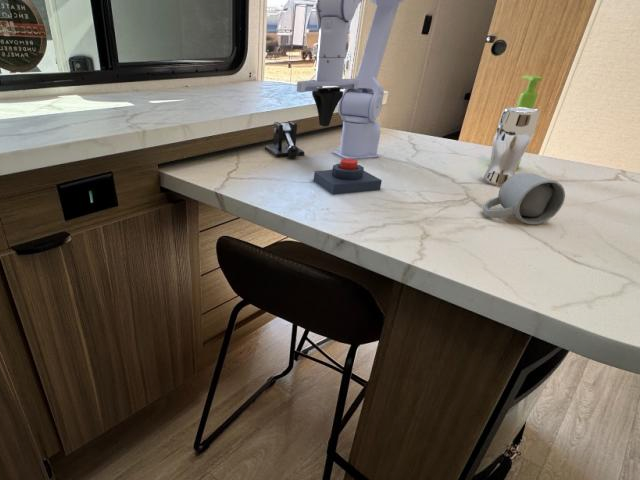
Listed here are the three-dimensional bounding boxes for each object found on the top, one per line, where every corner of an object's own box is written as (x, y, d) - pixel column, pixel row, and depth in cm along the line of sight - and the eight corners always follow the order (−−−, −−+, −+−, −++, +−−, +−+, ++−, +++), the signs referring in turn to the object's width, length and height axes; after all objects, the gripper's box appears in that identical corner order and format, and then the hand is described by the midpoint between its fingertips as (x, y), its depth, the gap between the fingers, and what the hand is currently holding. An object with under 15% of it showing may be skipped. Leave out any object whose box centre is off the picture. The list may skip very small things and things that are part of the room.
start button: (351, 166, 91) (352, 157, 90) (359, 170, 88) (360, 162, 87) (336, 167, 90) (337, 159, 89) (344, 171, 87) (345, 163, 86)
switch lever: (298, 159, 110) (301, 151, 107) (288, 160, 109) (290, 151, 107) (287, 130, 115) (290, 121, 112) (277, 131, 114) (279, 122, 111)
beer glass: (521, 186, 90) (549, 112, 82) (489, 186, 90) (513, 112, 82) (505, 177, 96) (529, 106, 88) (474, 177, 96) (496, 106, 88)
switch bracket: (304, 156, 112) (306, 125, 108) (276, 158, 111) (277, 127, 106) (290, 147, 120) (292, 119, 116) (264, 149, 119) (265, 120, 114)
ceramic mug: (527, 207, 79) (543, 167, 75) (555, 224, 72) (574, 181, 68) (472, 209, 79) (484, 168, 75) (494, 225, 72) (509, 182, 68)
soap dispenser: (509, 163, 106) (540, 74, 95) (521, 170, 100) (556, 77, 89) (485, 162, 107) (513, 74, 96) (496, 170, 101) (527, 77, 90)
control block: (357, 177, 96) (359, 159, 94) (380, 190, 88) (383, 171, 86) (313, 180, 94) (315, 163, 92) (333, 195, 86) (335, 175, 84)
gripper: (349, 55, 93) (341, 120, 100) (291, 57, 89) (288, 124, 96) (368, 56, 88) (358, 125, 95) (308, 58, 83) (302, 130, 91)
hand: (324, 125), depth 95 cm, fingers closed
